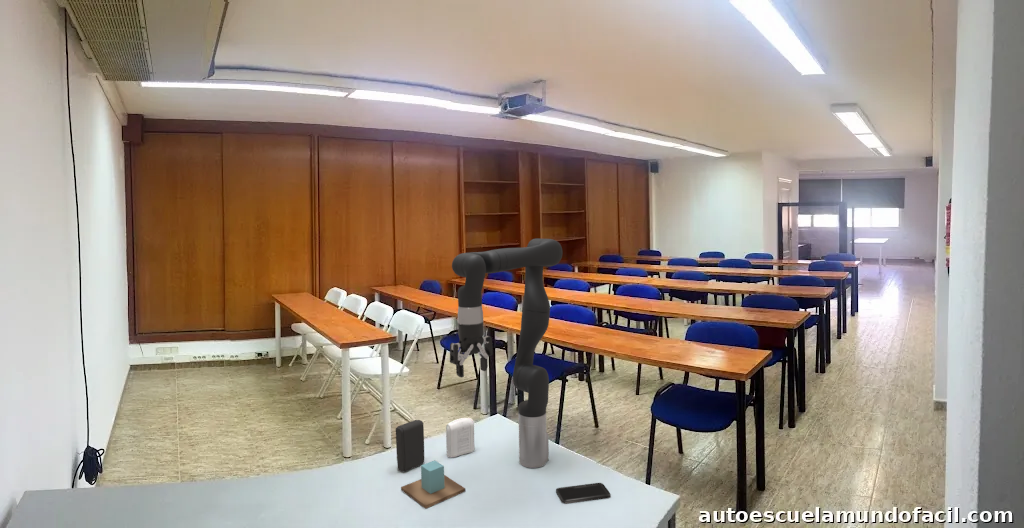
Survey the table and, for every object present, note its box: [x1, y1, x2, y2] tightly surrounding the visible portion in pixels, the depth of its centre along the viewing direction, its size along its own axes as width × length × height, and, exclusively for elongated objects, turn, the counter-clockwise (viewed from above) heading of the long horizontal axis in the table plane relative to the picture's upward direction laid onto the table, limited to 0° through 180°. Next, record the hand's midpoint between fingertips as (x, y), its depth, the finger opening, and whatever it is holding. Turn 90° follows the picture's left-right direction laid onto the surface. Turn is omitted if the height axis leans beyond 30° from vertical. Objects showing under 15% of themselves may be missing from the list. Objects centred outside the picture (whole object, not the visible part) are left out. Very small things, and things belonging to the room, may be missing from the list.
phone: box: [555, 482, 611, 505], centre depth 161 cm, size 8×1×15 cm
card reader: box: [395, 419, 425, 473], centre depth 179 cm, size 9×4×15 cm, turn 136°
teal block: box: [420, 460, 445, 494], centre depth 164 cm, size 5×5×7 cm
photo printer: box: [445, 417, 476, 458], centre depth 189 cm, size 10×4×12 cm, turn 123°
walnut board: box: [400, 474, 466, 510], centre depth 164 cm, size 14×14×1 cm
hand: (472, 373), depth 162 cm, fingers open, 8 cm apart
